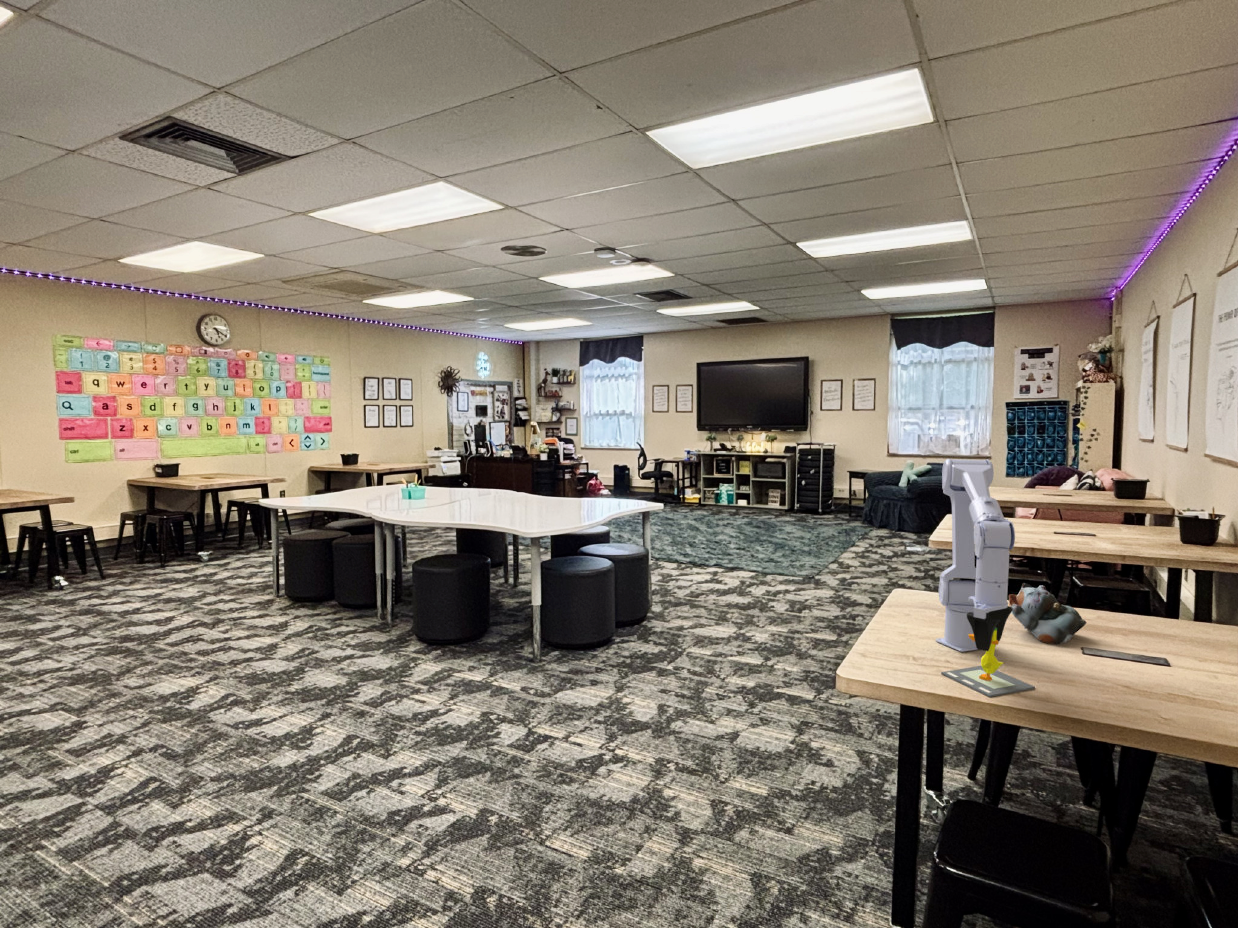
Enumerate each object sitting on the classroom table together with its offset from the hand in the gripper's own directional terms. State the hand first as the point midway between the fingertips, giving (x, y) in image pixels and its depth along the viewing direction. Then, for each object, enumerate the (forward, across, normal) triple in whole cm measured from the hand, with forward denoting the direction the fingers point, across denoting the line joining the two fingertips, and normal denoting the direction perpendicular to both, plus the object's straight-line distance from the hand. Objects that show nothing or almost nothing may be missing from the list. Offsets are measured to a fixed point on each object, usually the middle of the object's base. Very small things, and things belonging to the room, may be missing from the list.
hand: (988, 644), depth 137 cm
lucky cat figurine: (+8, -40, +2) cm, 41 cm away
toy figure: (+7, 0, 0) cm, 7 cm away
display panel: (+8, 0, 0) cm, 8 cm away
